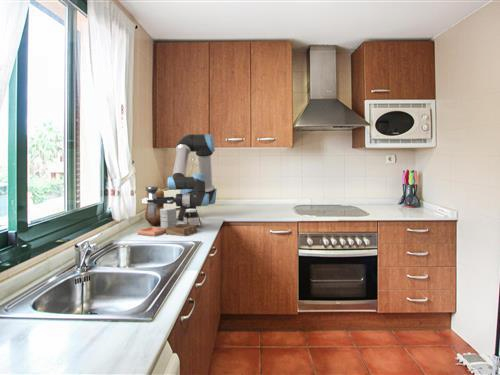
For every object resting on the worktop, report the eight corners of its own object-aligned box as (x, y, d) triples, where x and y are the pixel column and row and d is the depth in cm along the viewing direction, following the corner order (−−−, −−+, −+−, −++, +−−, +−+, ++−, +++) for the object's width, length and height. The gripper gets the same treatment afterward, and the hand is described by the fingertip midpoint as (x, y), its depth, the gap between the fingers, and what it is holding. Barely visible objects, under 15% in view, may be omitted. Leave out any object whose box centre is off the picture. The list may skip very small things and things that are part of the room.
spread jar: (181, 227, 235) (181, 209, 234) (195, 224, 243) (195, 207, 242) (193, 229, 227) (192, 211, 226) (207, 227, 235) (207, 209, 234)
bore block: (179, 230, 225) (179, 223, 224) (197, 232, 219) (197, 225, 219) (166, 234, 213) (166, 227, 213) (184, 236, 207) (184, 229, 207)
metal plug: (152, 215, 219) (151, 186, 217) (161, 216, 216) (160, 186, 214) (143, 217, 213) (143, 187, 211) (153, 218, 210) (152, 187, 208)
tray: (152, 230, 224) (152, 226, 224) (168, 232, 218) (168, 228, 218) (137, 234, 212) (137, 230, 212) (154, 236, 207) (154, 232, 207)
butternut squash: (170, 224, 243) (169, 187, 241) (156, 228, 232) (154, 189, 230) (155, 222, 250) (154, 186, 248) (140, 226, 239) (139, 188, 237)
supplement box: (169, 226, 237) (169, 207, 236) (177, 227, 232) (176, 208, 231) (160, 228, 231) (159, 208, 230) (167, 229, 226) (167, 209, 225)
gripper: (181, 208, 206) (139, 208, 204) (184, 204, 224) (146, 204, 222) (181, 195, 205) (139, 195, 204) (184, 192, 223) (146, 192, 222)
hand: (143, 200), depth 213 cm, fingers closed on metal plug, 5 cm apart
